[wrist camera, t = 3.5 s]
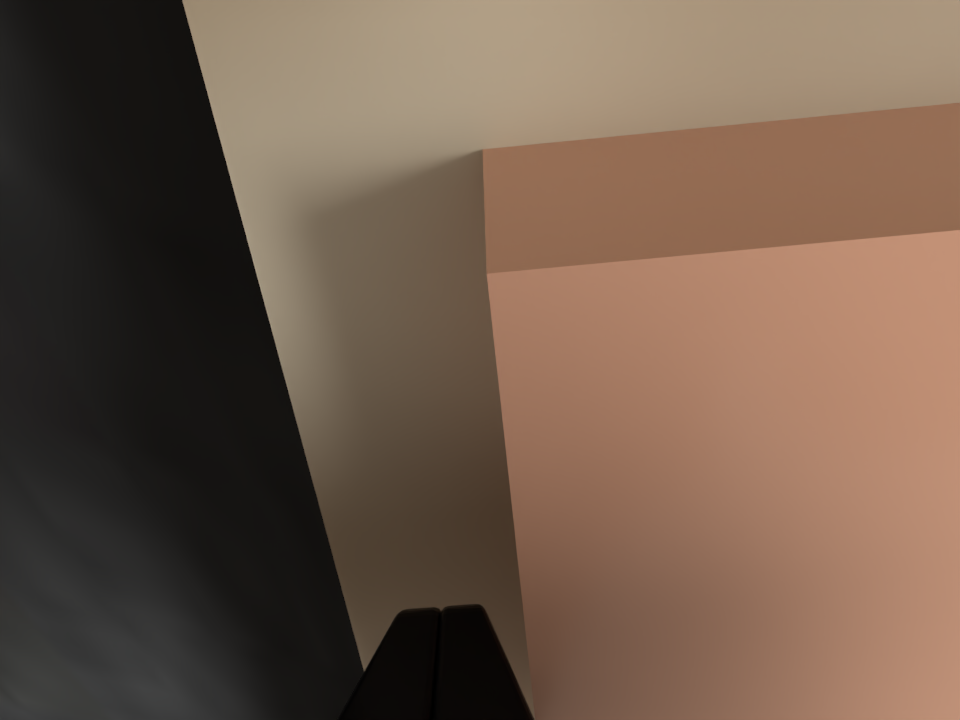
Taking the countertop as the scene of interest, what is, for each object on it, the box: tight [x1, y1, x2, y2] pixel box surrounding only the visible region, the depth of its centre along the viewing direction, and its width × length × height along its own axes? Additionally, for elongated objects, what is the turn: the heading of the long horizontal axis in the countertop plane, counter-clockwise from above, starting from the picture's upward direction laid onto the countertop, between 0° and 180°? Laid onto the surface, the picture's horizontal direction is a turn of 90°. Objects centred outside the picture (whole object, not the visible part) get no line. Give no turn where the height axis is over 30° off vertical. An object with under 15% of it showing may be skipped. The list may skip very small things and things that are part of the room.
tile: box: [482, 103, 960, 720], centre depth 9 cm, size 9×6×2 cm, turn 6°
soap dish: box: [182, 0, 960, 720], centre depth 11 cm, size 20×12×4 cm, turn 6°
